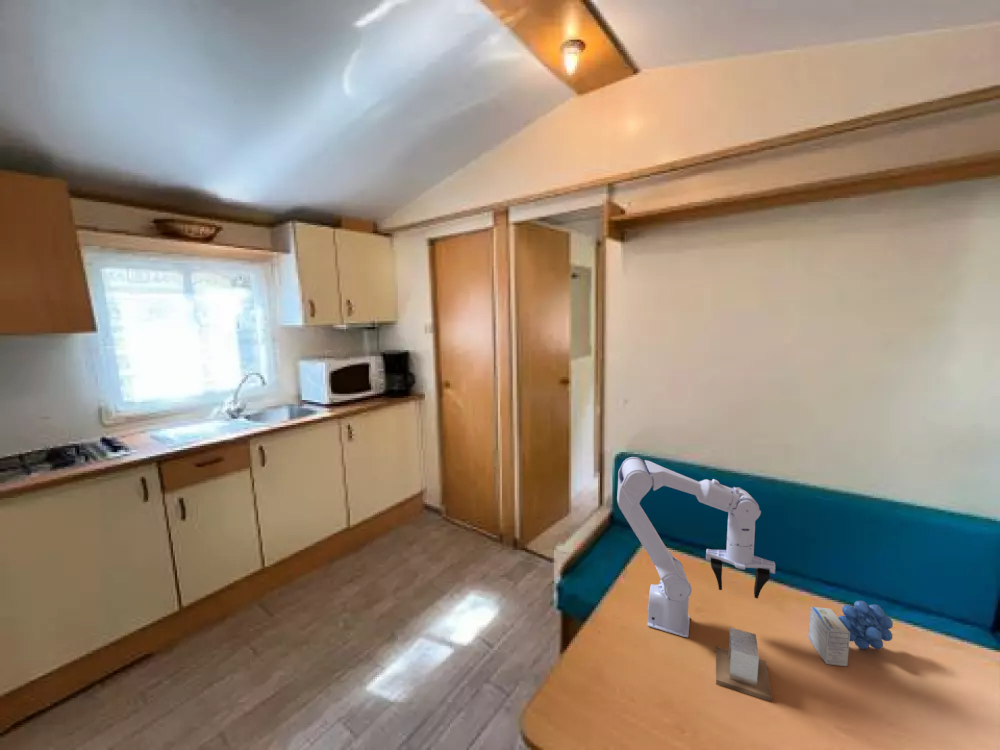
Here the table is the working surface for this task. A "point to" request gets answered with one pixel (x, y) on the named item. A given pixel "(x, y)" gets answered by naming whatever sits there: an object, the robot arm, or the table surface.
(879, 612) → the grapes
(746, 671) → the brushed steel brick
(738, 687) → the thin tan panel
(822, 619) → the medicine box
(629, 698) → the table surface
